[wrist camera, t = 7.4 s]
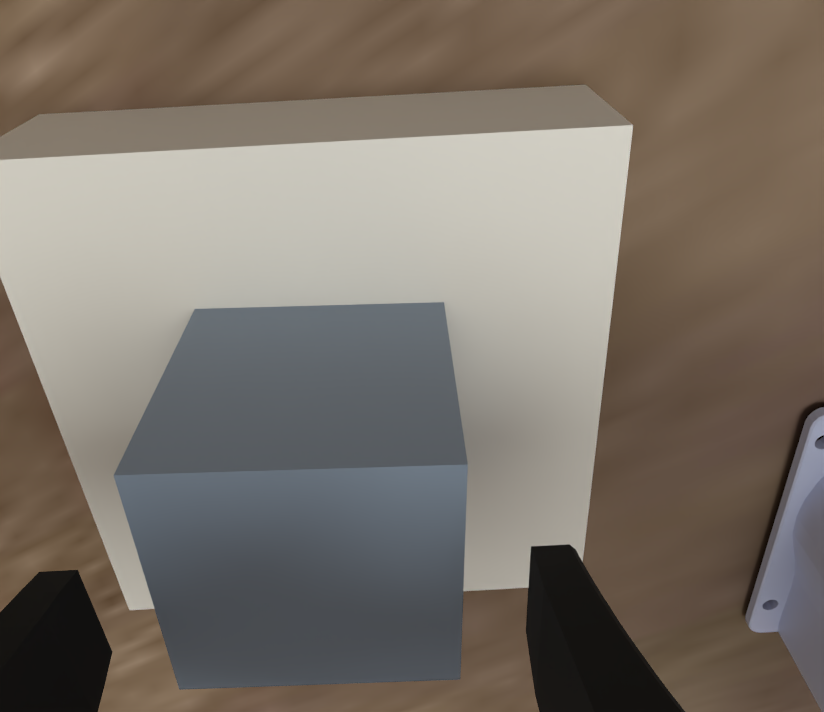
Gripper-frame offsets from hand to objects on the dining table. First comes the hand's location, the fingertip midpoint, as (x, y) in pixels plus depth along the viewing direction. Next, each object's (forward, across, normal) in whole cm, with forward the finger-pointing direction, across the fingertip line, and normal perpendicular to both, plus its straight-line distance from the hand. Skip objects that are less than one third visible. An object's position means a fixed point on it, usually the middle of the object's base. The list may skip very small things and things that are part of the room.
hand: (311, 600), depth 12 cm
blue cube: (+5, 0, 0) cm, 5 cm away
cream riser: (+9, 0, 0) cm, 9 cm away
